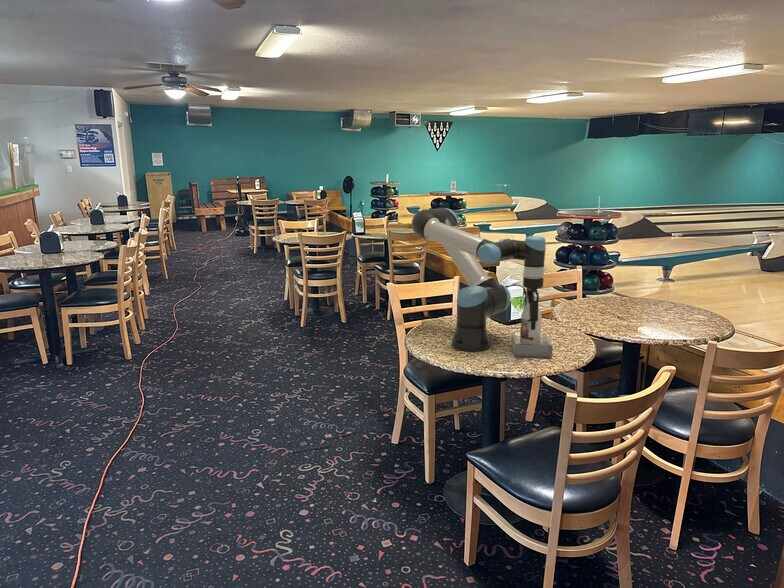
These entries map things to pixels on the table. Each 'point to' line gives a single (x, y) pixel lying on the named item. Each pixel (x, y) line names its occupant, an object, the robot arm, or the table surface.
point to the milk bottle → (525, 326)
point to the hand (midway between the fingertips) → (530, 333)
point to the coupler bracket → (532, 348)
